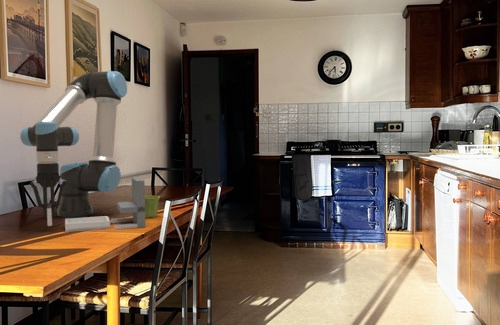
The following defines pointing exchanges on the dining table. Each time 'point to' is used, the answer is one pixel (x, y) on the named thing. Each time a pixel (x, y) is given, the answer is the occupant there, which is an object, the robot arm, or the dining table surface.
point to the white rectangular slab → (87, 223)
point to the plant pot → (151, 206)
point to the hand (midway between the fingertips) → (49, 225)
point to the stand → (133, 207)
